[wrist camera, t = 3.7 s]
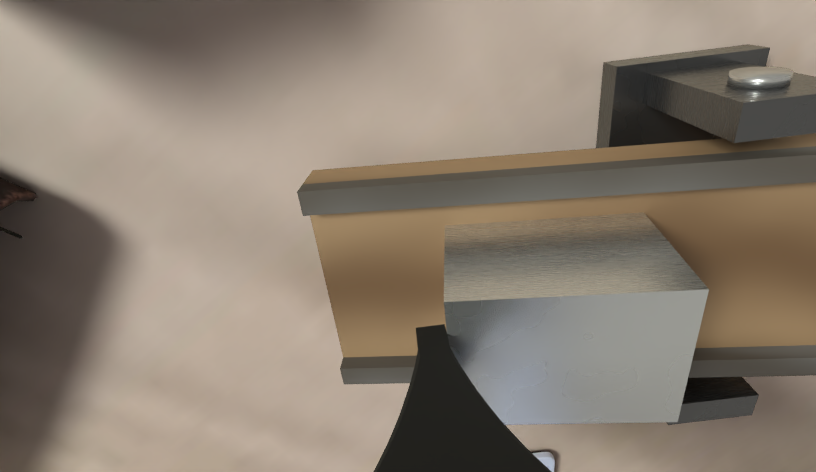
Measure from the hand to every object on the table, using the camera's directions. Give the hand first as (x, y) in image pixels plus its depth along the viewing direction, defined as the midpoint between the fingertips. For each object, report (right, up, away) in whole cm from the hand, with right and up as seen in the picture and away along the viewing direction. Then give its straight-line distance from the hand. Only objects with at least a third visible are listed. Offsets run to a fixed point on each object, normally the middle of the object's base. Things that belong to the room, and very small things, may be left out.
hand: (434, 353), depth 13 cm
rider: (+4, +2, +3) cm, 5 cm away
